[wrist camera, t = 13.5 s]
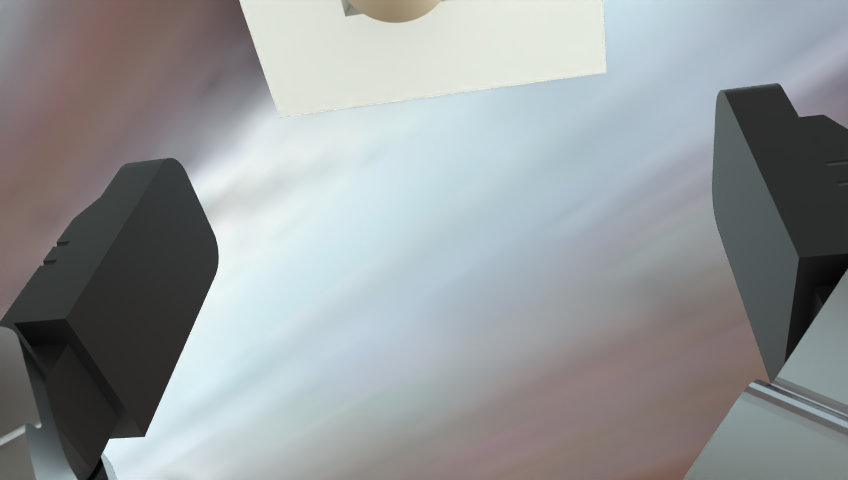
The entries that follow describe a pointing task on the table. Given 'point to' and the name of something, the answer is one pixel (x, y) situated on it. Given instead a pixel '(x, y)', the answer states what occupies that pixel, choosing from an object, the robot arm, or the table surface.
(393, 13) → the cream ribbed cylinder
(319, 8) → the socket
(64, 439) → the robot arm
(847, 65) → the table surface
